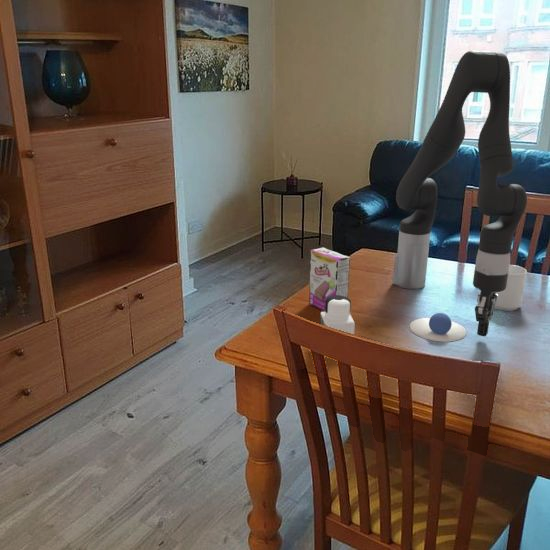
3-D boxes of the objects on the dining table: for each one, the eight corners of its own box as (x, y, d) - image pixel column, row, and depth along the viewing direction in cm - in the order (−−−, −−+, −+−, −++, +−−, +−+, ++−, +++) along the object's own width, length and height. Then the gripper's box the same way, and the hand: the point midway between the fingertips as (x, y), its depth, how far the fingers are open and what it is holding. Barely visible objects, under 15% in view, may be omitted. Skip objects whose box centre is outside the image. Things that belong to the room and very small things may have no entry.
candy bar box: (307, 304, 159) (309, 249, 154) (320, 300, 162) (323, 246, 157) (334, 317, 151) (337, 259, 146) (348, 313, 154) (351, 256, 148)
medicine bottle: (319, 337, 139) (320, 292, 135) (347, 336, 140) (349, 292, 136) (323, 350, 133) (325, 304, 129) (353, 350, 133) (356, 303, 129)
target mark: (401, 332, 142) (401, 331, 142) (420, 314, 153) (420, 313, 153) (456, 346, 135) (456, 345, 135) (472, 326, 146) (472, 325, 146)
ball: (434, 313, 138) (456, 322, 137) (434, 306, 143) (454, 315, 142) (425, 332, 140) (446, 341, 139) (425, 325, 145) (445, 333, 144)
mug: (523, 313, 155) (530, 275, 151) (490, 310, 156) (495, 273, 153) (514, 297, 166) (520, 261, 162) (483, 295, 168) (488, 259, 164)
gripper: (482, 258, 139) (473, 322, 145) (467, 273, 129) (459, 340, 135) (514, 264, 136) (504, 329, 141) (501, 279, 125) (491, 348, 131)
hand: (482, 334), depth 138 cm, fingers closed
